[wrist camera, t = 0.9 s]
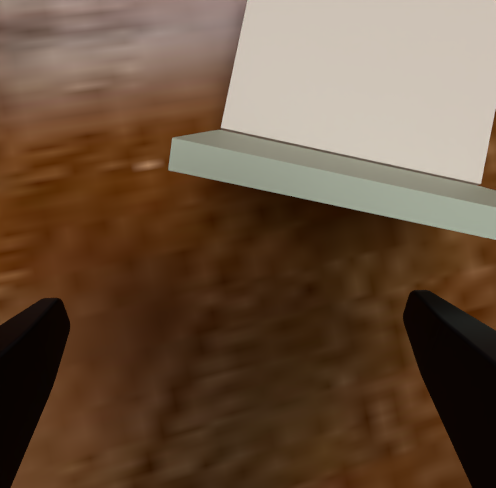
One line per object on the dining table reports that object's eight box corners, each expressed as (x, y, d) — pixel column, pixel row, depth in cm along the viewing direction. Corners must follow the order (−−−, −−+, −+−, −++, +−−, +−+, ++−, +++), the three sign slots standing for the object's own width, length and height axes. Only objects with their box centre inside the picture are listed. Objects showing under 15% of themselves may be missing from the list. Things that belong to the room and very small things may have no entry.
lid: (481, 186, 19) (475, 201, 19) (219, 129, 18) (216, 145, 18) (707, 253, 9) (689, 281, 9) (172, 137, 9) (168, 169, 9)
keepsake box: (431, 201, 24) (483, 188, 19) (220, 155, 23) (216, 130, 18) (461, 50, 24) (520, -2, 19) (252, 2, 24) (256, -64, 19)
